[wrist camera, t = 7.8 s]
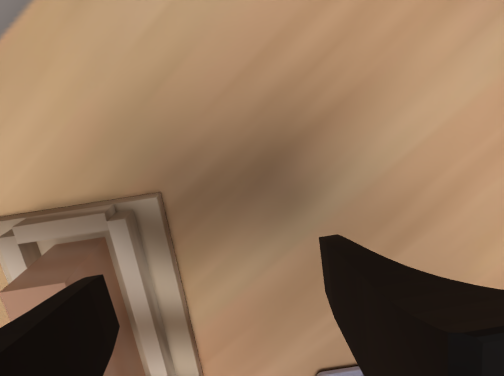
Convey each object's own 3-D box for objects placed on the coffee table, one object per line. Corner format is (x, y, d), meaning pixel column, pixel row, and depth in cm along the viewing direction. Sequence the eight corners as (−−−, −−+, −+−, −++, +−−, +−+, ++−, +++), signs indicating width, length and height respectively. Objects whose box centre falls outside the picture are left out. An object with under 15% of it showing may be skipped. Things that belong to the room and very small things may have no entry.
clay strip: (151, 394, 24) (129, 472, 19) (108, 401, 24) (76, 480, 19) (105, 236, 20) (64, 282, 16) (54, 244, 20) (-2, 292, 16)
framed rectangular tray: (208, 397, 25) (205, 430, 23) (73, 418, 25) (56, 453, 23) (160, 192, 21) (150, 205, 18) (-4, 217, 21) (-36, 234, 18)
